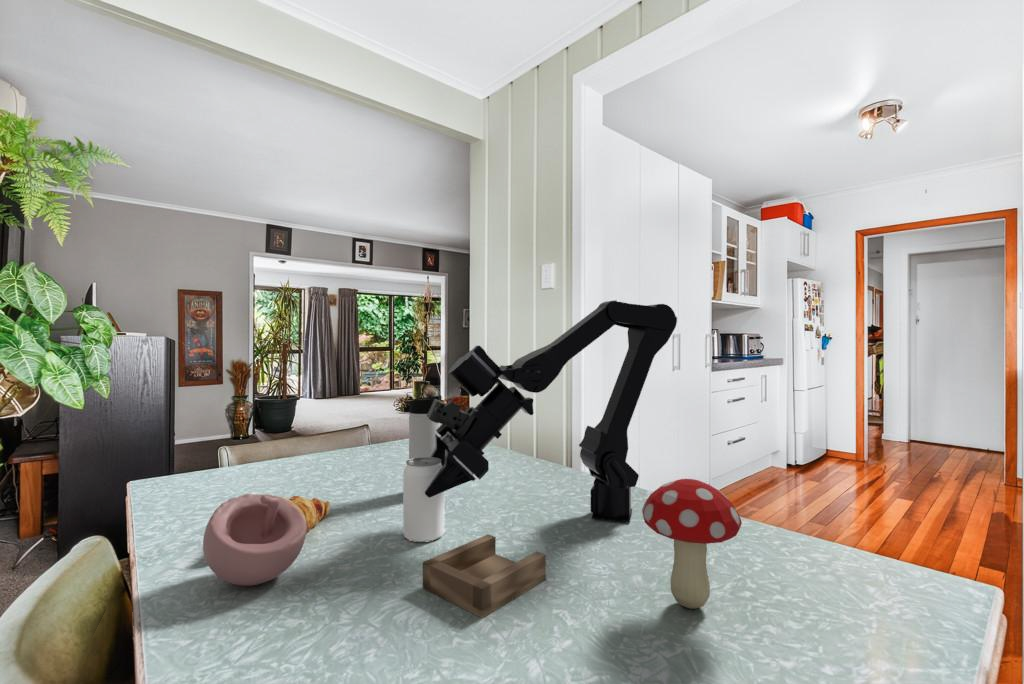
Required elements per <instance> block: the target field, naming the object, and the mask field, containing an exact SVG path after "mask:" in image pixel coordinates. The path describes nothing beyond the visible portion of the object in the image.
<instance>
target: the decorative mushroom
mask: <svg viewBox="0 0 1024 684" xmlns="http://www.w3.org/2000/svg"><path fill="white" fill-rule="evenodd" d="M641 512H642V518H643V520H644V521H643V522H644V524H646V526H648V527H649V528H650V529H651V530H653V532H655V533H656V534H658V535H660V536H663V537H665V538H668V539H671V540H673V553H674V555H673V565H672V570H671V575H670V591H671V594H672V596H673V597H674V599H675V601H676V602H677V603H678V605H681V606H682V607H685V608H686V609H689V610H694V609H699V608H702V607H704V606H705V604H706V603H707V601H708V600H709V598H710V597H711V596H710V595H711V593H710V592H711V591H710V590H711V585H710V580H709V575H708V574H709V573H708V568H707V552H708V544H717V543H719V544H720V543H723V542H725V541H729V540H731V539H733V538H734V537H736V536H737V534H738V533H739V531H740V529H741V527H742V524H743V522H742V519H741V516H740V514H739V513H738V510H737V509H736V508H735V507H734V505H733V503H732V502H731V501H730V499H729V498H728V497H727V496H726V495H725V494H724V493H723V492H722V491H720V490H719V489H717V488H715V487H714V486H712V485H710V484H708V483H706V482H705V481H701V480H698V479H694V478H681V479H676V480H673V481H669V482H666V483H664V484H662V485H660V486H659V487H658V488H657V489H655V490H654V491H653V492H652V493H650V495H649V496H648V498H647V499H646V500H645V501H644V503H643V507H642V509H641Z"/></svg>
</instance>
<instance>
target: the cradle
mask: <svg viewBox="0 0 1024 684" xmlns="http://www.w3.org/2000/svg"><path fill="white" fill-rule="evenodd" d="M496 540H497V539H496V536H494V535H492V534H485V535H483V536H480V537H478V538H475V539H474V540H471V541H469V542H467V543H464V544H462V545H459V546H458V547H455V548H452V549H450V550H448V551H445V552H444V553H441V554H438V555H435V556H433V557H432V558H429V559H427V560H425V561H423V562H422V589H423V590H425V591H428V592H430V593H432V594H434V595H435V596H438V597H439V598H441V599H443V600H445V601H448V602H449V603H452V604H453V605H456V606H457V607H458V608H462V609H463V610H465V611H467V612H469V613H471V614H474V615H475V616H477V617H478V618H481V619H483V618H485V617H486V616H489V615H490V614H492V613H493V612H495V611H496V610H498V609H500V608H502V607H503V606H505V605H506V604H508V603H510V602H512V601H513V600H515V599H516V598H518V597H520V596H521V595H523V594H525V593H526V592H528V591H530V590H531V589H533V588H534V587H536V586H539V584H541V583H543V582H544V581H546V580H547V554H545V553H542V552H539V551H534V552H533V553H531V554H530V555H527V556H526V557H523V558H521V559H519V560H518V561H514V560H511V559H509V558H507V557H504V556H501V555H499V554H497V552H496V550H497V549H496V546H497V545H496Z"/></svg>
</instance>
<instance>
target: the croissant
mask: <svg viewBox="0 0 1024 684" xmlns="http://www.w3.org/2000/svg"><path fill="white" fill-rule="evenodd" d="M277 497H280V498H282V499H284V500H287V501H288V502H290V503H291V504H293V505H294V506H295V507H297V509H298V510H299V511H300V512H301V513H302V515H303V516H304V519H305V521H306V526H307V532H306V534H307V533H308V532H310V531H311V530H312V529H313V528H314V527H316V526H317V525H318V524H320V522H321V520H323V519H325V517H327V516H328V515H329V514H330V511H331V509H332V505H331V502H330V501H323V500H321V499H318V498H316V497H315V498H312V499H309V498H304V497H303V496H301V495H293V496H292V497H290V498H285V497H282V496H277Z"/></svg>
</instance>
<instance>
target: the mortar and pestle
mask: <svg viewBox="0 0 1024 684" xmlns="http://www.w3.org/2000/svg"><path fill="white" fill-rule="evenodd" d="M280 497H281V496H279V497H277V496H276V495H273V494H268V493H267V494H266V493H263V494H252V493H247V494H242V495H240V496H238V497H231V498H230V499H228V500H227V501H224V502H223V503H221V504H220V505H219V506H218V507H217V508H216V509H215V510H214V511H213V513H212V515H211V516H210V518H209V520H208V522H207V524H206V527H205V530H204V532H203V540H202V549H203V551H202V552H203V555H204V558H205V561H206V563H207V565H208V568H210V570H211V571H212V572H213V574H214V575H216V577H218V578H220V579H221V580H223V581H225V582H227V583H229V584H232V585H236V586H245V587H247V586H256V585H261V584H264V583H267V582H269V581H272V580H274V579H276V578H277V577H279V576H280V575H282V574H283V573H285V571H286V570H287V569H289V568H290V567H291V565H292V564H293V563H294V562H295V561H296V560H297V558H298V556H300V553H301V551H302V549H303V547H304V544H305V541H306V535H307V533H308V532H307V526H306V521H305V519H304V516H303V515H302V513H301V512H300V511H299V510H298V509H297V507H295V506H294V505H293V504H291V503H290V502H288V501H287V500H284V499H282V498H280ZM306 532H307V533H306Z"/></svg>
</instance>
